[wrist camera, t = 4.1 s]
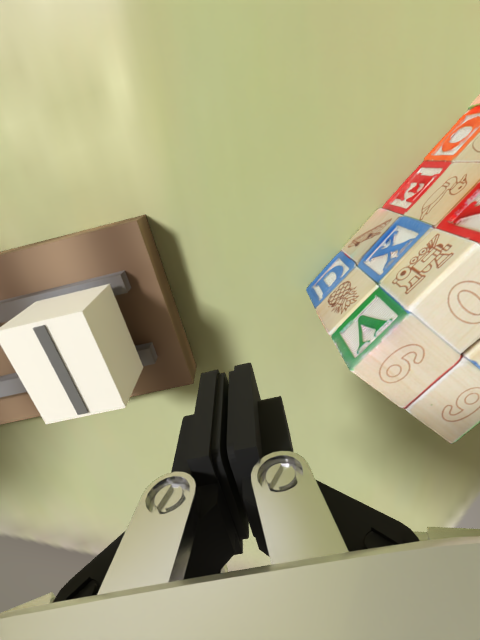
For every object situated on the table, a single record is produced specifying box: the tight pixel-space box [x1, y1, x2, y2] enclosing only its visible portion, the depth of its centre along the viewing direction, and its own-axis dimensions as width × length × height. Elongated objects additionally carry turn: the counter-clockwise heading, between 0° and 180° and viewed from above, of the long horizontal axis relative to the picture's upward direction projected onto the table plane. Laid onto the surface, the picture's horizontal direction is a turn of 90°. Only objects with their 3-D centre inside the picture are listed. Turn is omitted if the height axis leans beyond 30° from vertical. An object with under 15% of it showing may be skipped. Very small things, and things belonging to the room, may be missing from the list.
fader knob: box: [0, 284, 143, 424], centre depth 18 cm, size 4×5×5 cm
